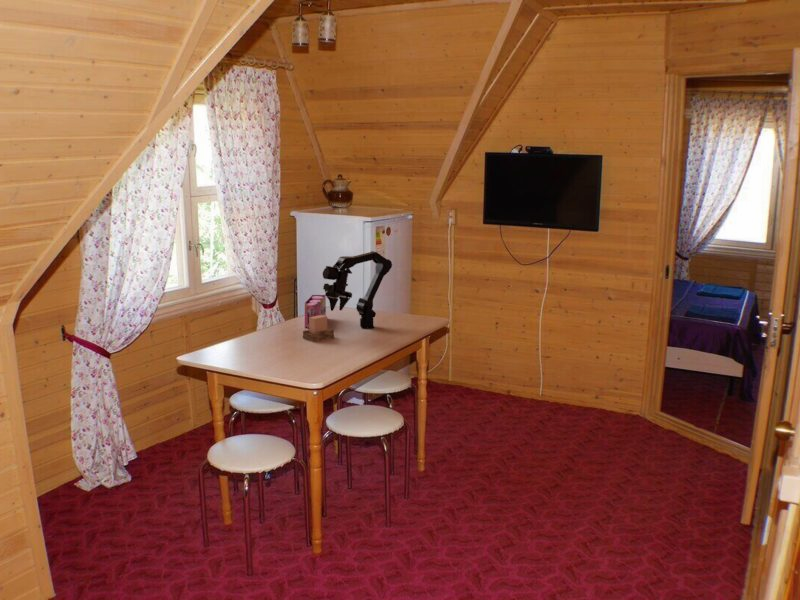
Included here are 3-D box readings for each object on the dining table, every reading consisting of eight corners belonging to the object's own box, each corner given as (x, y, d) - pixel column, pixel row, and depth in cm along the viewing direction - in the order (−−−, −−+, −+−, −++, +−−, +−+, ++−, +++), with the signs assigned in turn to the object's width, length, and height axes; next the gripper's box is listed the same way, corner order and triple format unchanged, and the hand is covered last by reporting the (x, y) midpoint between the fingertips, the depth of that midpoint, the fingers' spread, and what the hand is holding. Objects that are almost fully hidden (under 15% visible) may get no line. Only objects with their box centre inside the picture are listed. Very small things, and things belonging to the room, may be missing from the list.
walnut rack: (323, 333, 382) (323, 326, 382) (334, 337, 376) (333, 329, 375) (302, 338, 374) (302, 330, 373) (313, 341, 367) (313, 334, 366)
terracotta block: (322, 333, 379) (321, 314, 377) (327, 335, 376) (327, 316, 374) (309, 336, 374) (309, 317, 371) (314, 338, 370) (314, 318, 368)
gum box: (318, 328, 393) (318, 304, 390) (303, 328, 394) (303, 303, 391) (326, 318, 416) (325, 294, 414) (312, 318, 417) (312, 294, 414)
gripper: (336, 278, 394) (331, 307, 395) (318, 277, 377) (313, 307, 378) (354, 282, 389) (349, 311, 391) (337, 281, 372) (332, 312, 374)
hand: (336, 310), depth 383 cm, fingers open, 9 cm apart
